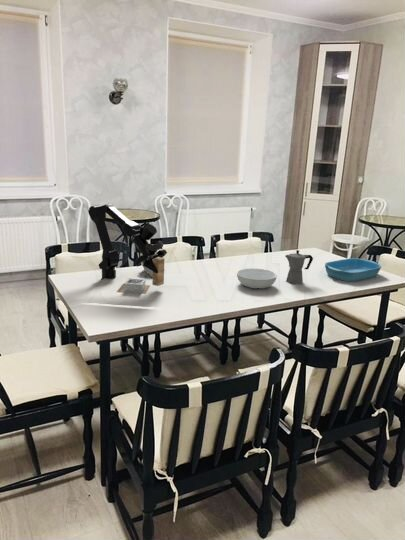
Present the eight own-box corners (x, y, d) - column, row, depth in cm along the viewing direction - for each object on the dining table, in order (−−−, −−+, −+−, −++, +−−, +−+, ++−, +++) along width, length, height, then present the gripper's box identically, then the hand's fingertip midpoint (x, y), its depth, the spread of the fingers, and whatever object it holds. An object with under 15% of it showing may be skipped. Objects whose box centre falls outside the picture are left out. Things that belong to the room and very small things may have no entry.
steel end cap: (124, 292, 212) (124, 283, 211) (128, 286, 220) (128, 278, 219) (141, 293, 212) (141, 284, 210) (145, 288, 220) (145, 279, 218)
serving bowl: (252, 277, 249) (253, 265, 247) (283, 287, 235) (284, 274, 233) (228, 284, 235) (228, 272, 233) (258, 295, 221) (260, 282, 219)
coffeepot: (284, 283, 240) (287, 251, 235) (280, 278, 249) (284, 247, 244) (312, 284, 241) (316, 252, 236) (307, 279, 250) (311, 248, 245)
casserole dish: (347, 285, 244) (349, 273, 242) (316, 274, 262) (317, 263, 260) (386, 276, 265) (388, 265, 263) (355, 267, 282) (357, 256, 280)
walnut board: (116, 293, 212) (116, 291, 212) (123, 285, 225) (123, 283, 225) (145, 295, 212) (145, 293, 212) (150, 287, 224) (150, 285, 224)
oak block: (152, 284, 215) (152, 258, 211) (158, 282, 219) (158, 257, 215) (158, 286, 213) (158, 260, 210) (163, 283, 217) (164, 258, 213)
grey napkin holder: (162, 277, 241) (156, 261, 237) (154, 281, 239) (148, 264, 235) (152, 269, 255) (147, 253, 251) (145, 272, 254) (139, 257, 250)
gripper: (139, 239, 204) (158, 266, 201) (164, 233, 219) (181, 258, 217) (126, 252, 210) (144, 279, 208) (151, 246, 225) (168, 271, 223)
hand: (160, 271), depth 213 cm, fingers closed on oak block, 4 cm apart
